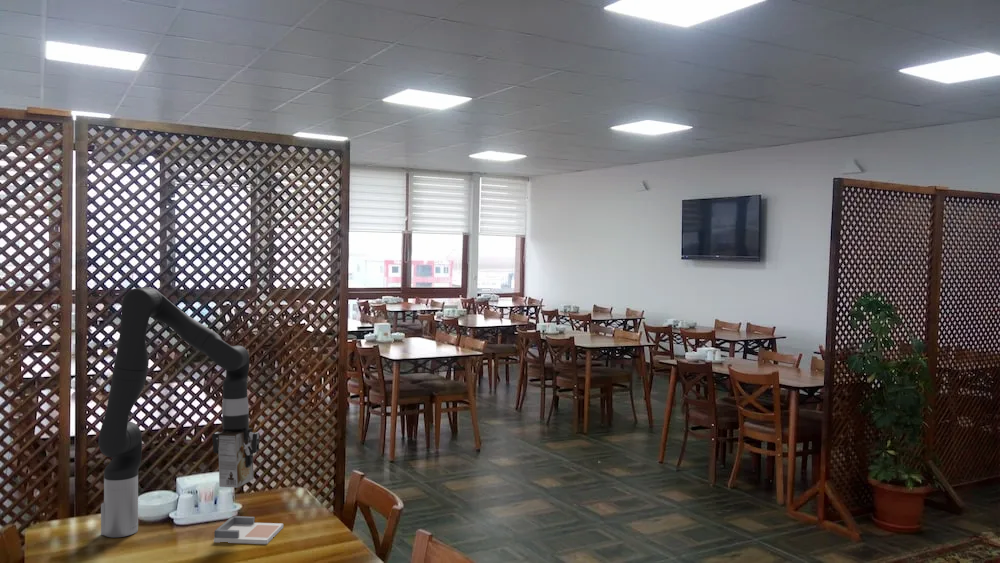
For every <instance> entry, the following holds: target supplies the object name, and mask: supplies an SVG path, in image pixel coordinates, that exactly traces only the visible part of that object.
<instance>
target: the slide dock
mask: <svg viewBox="0 0 1000 563" xmlns="http://www.w3.org/2000/svg"><path fill="white" fill-rule="evenodd" d="M255 521H256V518H255V516H246V515H245V516H243V515H242V516H241V515H240V516H239V515H232V516H231V517H230V518H229V519H227V520H226V521H225V522H223V524H221V525H220V526H218V527H217V528H216V529H215V530H214V537H213V543H220V542H228V543H229V544H250V545H252V544H253V545H254V544H255V545H268V544H269V543H270V542H271V541H272V540H273V539H274V538H275V537H276V535H277V534H278V533H279V532H281V530H283V528H284V523H280V522H279V523H278V522H274V523H273V522H255ZM273 537H274V538H273ZM228 543H227V544H228Z"/></svg>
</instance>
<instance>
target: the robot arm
mask: <svg viewBox="0 0 1000 563" xmlns="http://www.w3.org/2000/svg"><path fill="white" fill-rule="evenodd" d="M120 315H121V317H120V330H119V338H118V344H117V348H116V354H115V359H114V362H113V363H114V365H113V370H112V375H111V376H112V377H111V384H110V388H109V395H108V399H107V405H106V410H105V413H104V417H103V420H102V423H101V427H100V431H99V435H98V448H99V450H100V453H102V454H103V456H105V457H106V458H112V459H111V460H110V462H109V463H108V464H107V466H105V468H104V469H103V502H102V503H101V504H100V536H105V537H107V538H122V537H127V536H131V535H133V534H136V533H138V531H139V469H140V467H141V462H142V450H143V436H142V435H143V434H142V431H141V429H140V427H139V426H138V424H136V423H135V422H133V421H129V419H130V414H131V411H132V409H133V407H134V406H135V404H136V402H137V400H138V398H139V397H140V395H141V393H142V391H143V389H144V387H145V384H146V382H147V375H148V370H149V364H150V363H149V360H150V359H149V352H148V347H147V343H146V338H147V337H146V335H147V329H148V325H149V324H148V323H149V320H150V318H152V319H155V320H156V321H159V322H160V323H163V324H164V325H166V326H167V327H169V328H170V329H172V330H173V331H174V332H175V333H176V335H178V336H179V337H180V338H181V339H182V340H183V341H184V342H185V343H186V344H188V345H189V346H191V347H193V348H194V349H196V350H197V351H199V352H201V353H202V354H205V355H206V356H207V357H208V358H209V359H210V360H211V361H212V362H214V363H215V364H216V365H217V366H219V367H220V368H222V370H223V369H224V370H226V372H225V379H224V380H223V382H222V403H221V404H222V405H221V409H222V410H221V413H222V416H221V417H222V420H221V421H222V431H221V432H220V431H216V432H214V433H212V435H211V437H212V439H211V440H212V450H213V453H214V454H217V455H219V450H218V434H219V433H222V432H226V431H241V432H244V440H245V441H246V439H248V438H249V436H250V437H251V440H252V448H251V446H250V443H248V444H247V445H245V443H243V449H244V451H245V453H246V454H247V455H246V468H249V467H250V466H251V465H252V463H253V464H254V454H256V453H257V452H259V451H260V434H261V433H260V432H259V431H256V432H252V433H251V432H250V431H249V428H250V426H249V425H250V421H249V420H250V419H249V418H250V414H249V411H250V407H249V399H248V375H249V371H250V370H249V369H250V355H249V351H248V350H247V349H246V348H245V347H244V346H242V345H238V344H237V345H233V346H232V345H230V344H229V343H227V342H226V341H224V340H223V339H222V338H223V337H222V336H221V335H220V334H219V333H217V332H215V331H214V330H212V329H210V327H207V326H206V325H204V324H202V323H201V322H199V321H198V320H196V319H194V318H193V317H191V316H190V315H189V314H187V313H185V312H184V311H182V309H181V308H179V307H178V306H176V305H175V304H174V303H173V302H171V301H170V300H169V299H168V298H167V297H166V296H165V295H164V294H162V293H161V292H160V291H159V290H157V289H155V288H154V287H151V286H143V287H142V286H141V287H136V288H132V289H130V290H129V291H127V293H126V294H124V296H123V299H122V303H121V314H120Z"/></svg>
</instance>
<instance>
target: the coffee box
mask: <svg viewBox="0 0 1000 563" xmlns="http://www.w3.org/2000/svg"><path fill="white" fill-rule="evenodd" d="M249 431H250V432H251V433H253V427H249ZM221 432H222V431H221ZM221 432H219V434H218V450H219V454H218V471H219V472H218V480H219V483H218V484H219V487H221V488H236V489H237V488H240V487H241V486H243V485H245V484H247V483H250V482H251V481H253V480H254V462H253V463H252V465H251V466H250V467H249V468H246V455H247V454H246V453H245V451H244V449H243V443H245V445H247V444H248V443H250V446H251V448H252V440H251V437H250V436H249V438H248V439H246V441H245V440H244V432H241V431H226V432H222V433H221Z"/></svg>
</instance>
